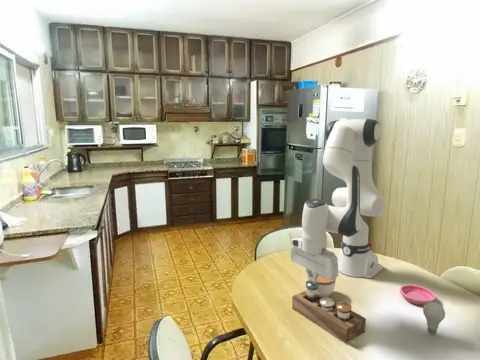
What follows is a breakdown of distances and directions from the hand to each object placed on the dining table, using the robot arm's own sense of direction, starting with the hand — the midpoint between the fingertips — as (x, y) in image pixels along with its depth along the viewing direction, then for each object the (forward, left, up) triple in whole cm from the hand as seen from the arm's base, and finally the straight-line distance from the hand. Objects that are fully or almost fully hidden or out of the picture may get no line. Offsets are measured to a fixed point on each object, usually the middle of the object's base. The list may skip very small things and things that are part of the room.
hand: (312, 281), depth 116 cm
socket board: (0, +7, -12) cm, 14 cm away
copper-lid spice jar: (0, +14, -9) cm, 17 cm away
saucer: (-40, +18, -12) cm, 46 cm away
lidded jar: (-12, -6, -12) cm, 18 cm away
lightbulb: (-22, +32, -12) cm, 41 cm away
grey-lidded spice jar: (0, 0, -7) cm, 7 cm away
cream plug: (0, +7, -11) cm, 13 cm away
